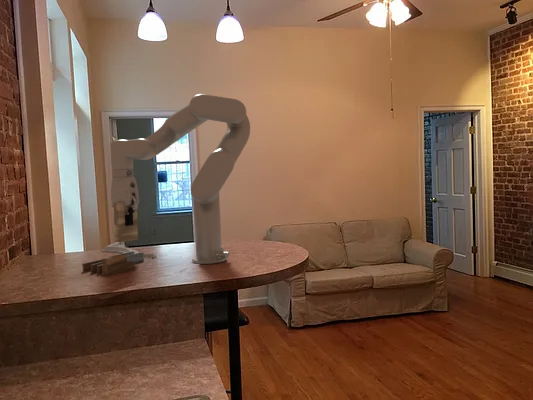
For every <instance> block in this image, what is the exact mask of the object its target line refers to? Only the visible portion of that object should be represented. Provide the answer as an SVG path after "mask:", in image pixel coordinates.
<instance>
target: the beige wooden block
mask: <svg viewBox="0 0 533 400" xmlns="http://www.w3.org/2000/svg"><path fill="white" fill-rule="evenodd" d="M129 206H130V205H129ZM128 208H130V207H128ZM125 215H126V211H125V206H123V203H118V202H117V203H114V208H113V226H114V228H113V229H114V242H115V243H117V242H119V243H124V242H131V241H136V240H139V233H138V230H139V229H138V227H139V226H138V208H136V209H135V211H134V214H133V225H130V226H126V225H125Z"/></svg>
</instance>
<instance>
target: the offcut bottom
mask: <svg viewBox="0 0 533 400" xmlns="http://www.w3.org/2000/svg"><path fill="white" fill-rule="evenodd" d="M106 267H107V266H102V274H107V268H106Z"/></svg>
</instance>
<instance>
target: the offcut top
mask: <svg viewBox="0 0 533 400" xmlns="http://www.w3.org/2000/svg"><path fill="white" fill-rule="evenodd" d="M118 254H119V255H118ZM118 254H114V255H115V256H113V255H112V256H107V257H102V258H101V259H102V264H103V266H107V267H108V266H112V265H116V264H120V263H124V262H127V255H121V254H122V253H118Z"/></svg>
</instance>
